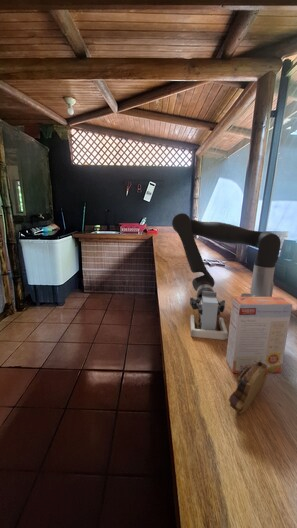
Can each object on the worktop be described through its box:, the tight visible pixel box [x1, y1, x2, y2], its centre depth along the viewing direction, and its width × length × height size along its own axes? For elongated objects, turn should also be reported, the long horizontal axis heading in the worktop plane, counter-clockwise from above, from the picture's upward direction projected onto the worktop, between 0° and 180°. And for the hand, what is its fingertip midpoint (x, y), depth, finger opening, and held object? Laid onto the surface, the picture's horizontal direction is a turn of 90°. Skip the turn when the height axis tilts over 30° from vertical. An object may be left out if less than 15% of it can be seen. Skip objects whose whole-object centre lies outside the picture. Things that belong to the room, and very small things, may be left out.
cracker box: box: [225, 296, 293, 374], centre depth 66 cm, size 14×6×21 cm, turn 92°
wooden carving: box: [228, 362, 269, 415], centre depth 55 cm, size 16×5×10 cm, turn 139°
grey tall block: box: [198, 291, 219, 331], centre depth 87 cm, size 6×7×12 cm
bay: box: [189, 314, 229, 341], centre depth 88 cm, size 12×12×2 cm
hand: (209, 313), depth 84 cm, fingers closed on grey tall block, 5 cm apart
